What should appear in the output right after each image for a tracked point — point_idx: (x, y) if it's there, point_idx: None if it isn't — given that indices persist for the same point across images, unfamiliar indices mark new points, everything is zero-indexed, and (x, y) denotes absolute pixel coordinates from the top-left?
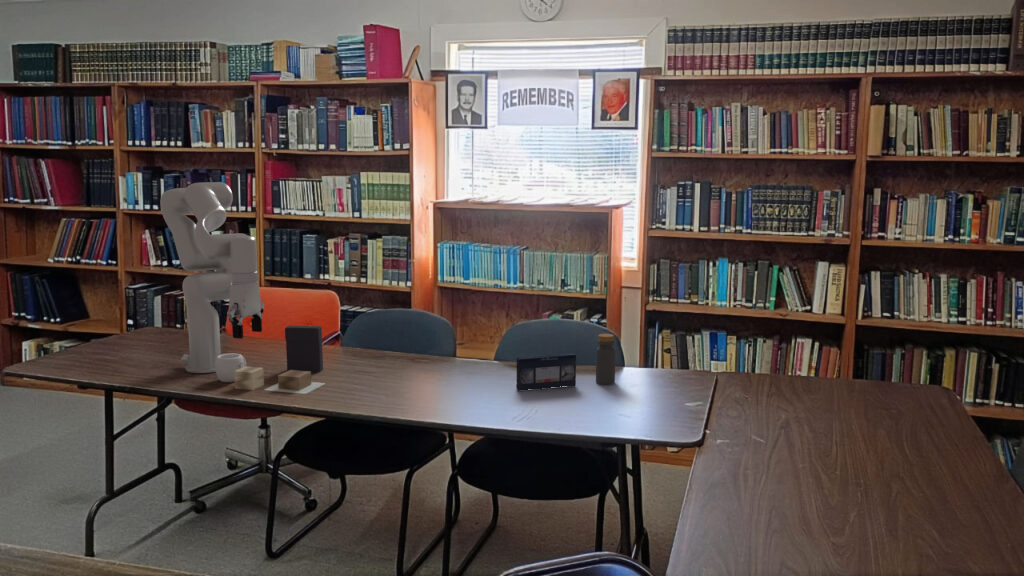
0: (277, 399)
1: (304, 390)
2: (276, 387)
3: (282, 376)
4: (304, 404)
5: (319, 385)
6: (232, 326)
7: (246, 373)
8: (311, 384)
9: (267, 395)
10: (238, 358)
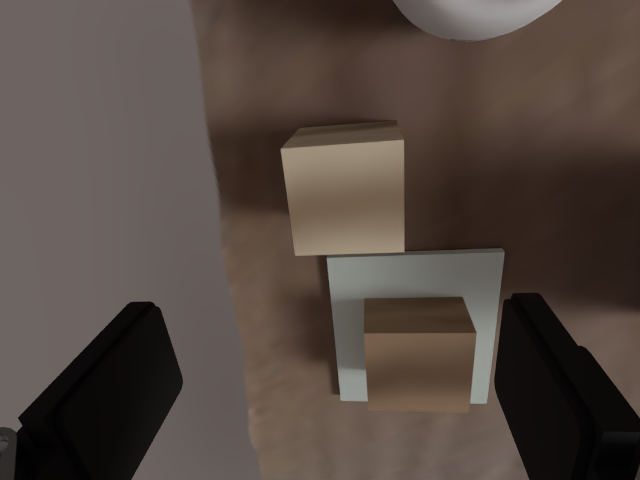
0: (270, 341)
1: None
2: (375, 283)
3: (365, 349)
4: (264, 424)
5: None
6: (42, 398)
7: (292, 222)
8: None
9: (294, 290)
10: (476, 27)
